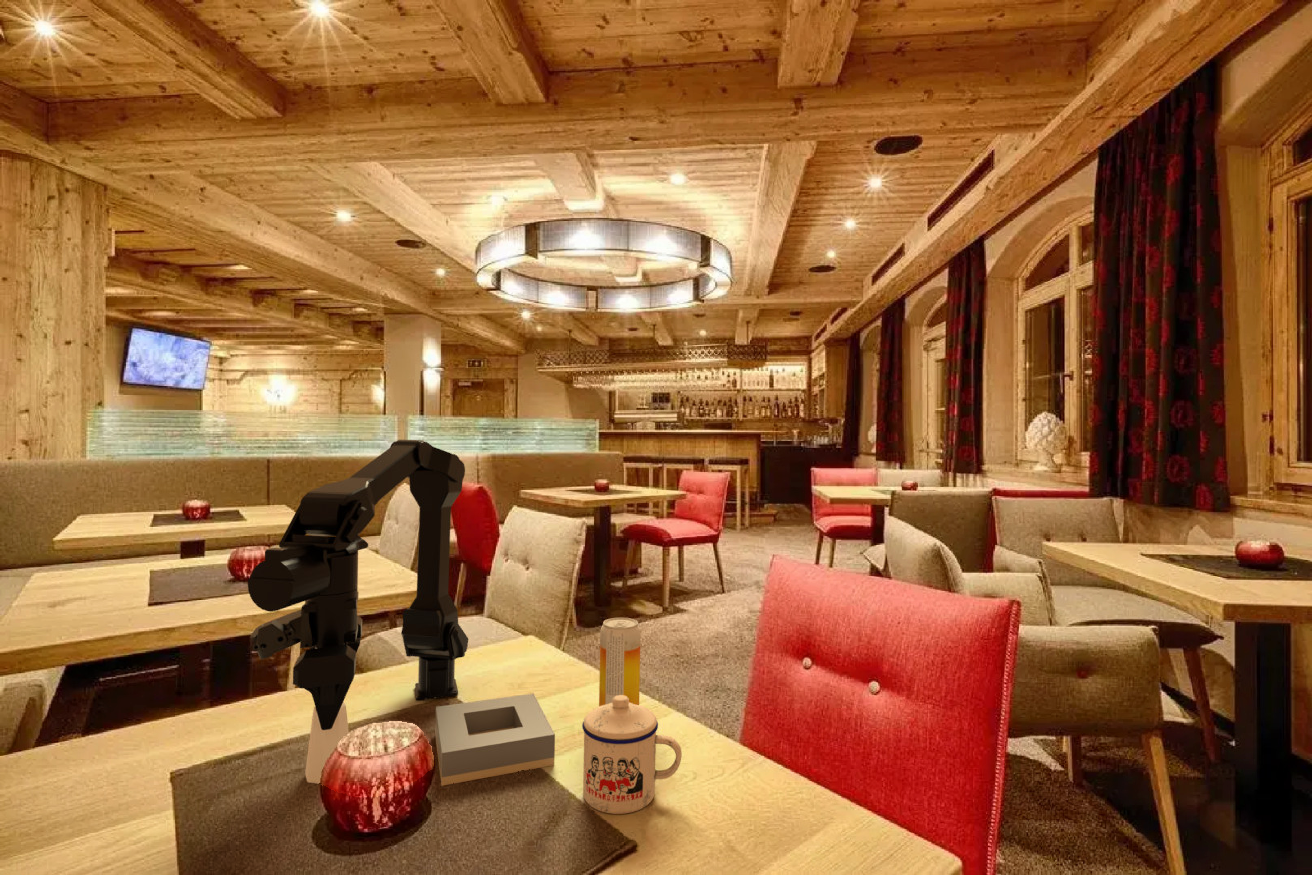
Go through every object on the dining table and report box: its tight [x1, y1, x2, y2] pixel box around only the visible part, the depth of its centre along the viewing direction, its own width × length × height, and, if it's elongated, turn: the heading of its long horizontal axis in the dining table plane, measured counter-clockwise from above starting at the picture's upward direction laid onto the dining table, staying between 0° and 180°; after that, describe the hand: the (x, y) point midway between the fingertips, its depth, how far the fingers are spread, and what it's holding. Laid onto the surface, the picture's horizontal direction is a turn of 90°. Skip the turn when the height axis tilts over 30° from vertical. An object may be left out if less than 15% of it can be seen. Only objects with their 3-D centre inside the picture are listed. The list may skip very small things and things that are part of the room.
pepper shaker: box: [304, 700, 350, 785], centre depth 79 cm, size 5×5×11 cm
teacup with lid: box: [581, 695, 682, 815], centre depth 75 cm, size 12×9×12 cm
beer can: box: [598, 617, 642, 707], centre depth 95 cm, size 6×6×15 cm
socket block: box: [434, 692, 556, 787], centre depth 86 cm, size 14×14×4 cm
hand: (330, 713), depth 79 cm, fingers open, 9 cm apart
